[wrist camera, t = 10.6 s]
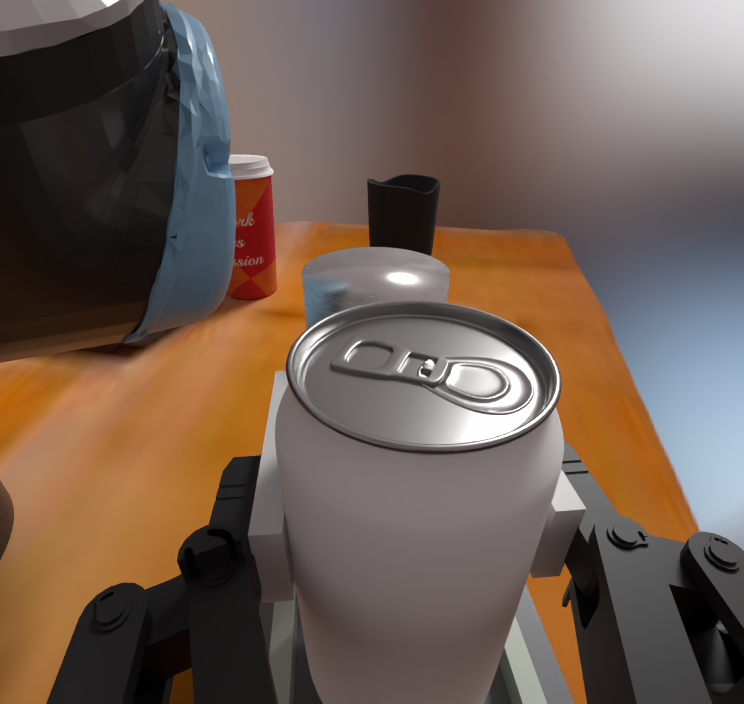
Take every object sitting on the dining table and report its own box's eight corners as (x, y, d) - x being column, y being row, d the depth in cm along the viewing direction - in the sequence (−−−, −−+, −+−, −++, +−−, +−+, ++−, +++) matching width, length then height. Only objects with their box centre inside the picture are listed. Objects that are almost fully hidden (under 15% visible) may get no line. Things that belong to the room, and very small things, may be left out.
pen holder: (370, 243, 65) (370, 173, 60) (432, 245, 64) (438, 174, 59) (364, 265, 57) (363, 186, 52) (435, 268, 56) (442, 188, 51)
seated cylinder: (318, 526, 21) (298, 303, 15) (319, 441, 26) (304, 248, 20) (438, 517, 21) (468, 297, 15) (416, 435, 27) (432, 245, 20)
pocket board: (214, 888, 12) (194, 867, 11) (275, 443, 28) (270, 410, 27) (604, 830, 13) (633, 804, 12) (454, 433, 29) (458, 400, 28)
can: (472, 810, 12) (592, 530, 5) (270, 700, 14) (189, 406, 7) (503, 591, 17) (584, 317, 11) (353, 535, 19) (346, 278, 13)
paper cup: (203, 294, 48) (173, 160, 41) (250, 273, 54) (232, 151, 47) (255, 310, 45) (234, 167, 38) (300, 285, 51) (289, 157, 43)
